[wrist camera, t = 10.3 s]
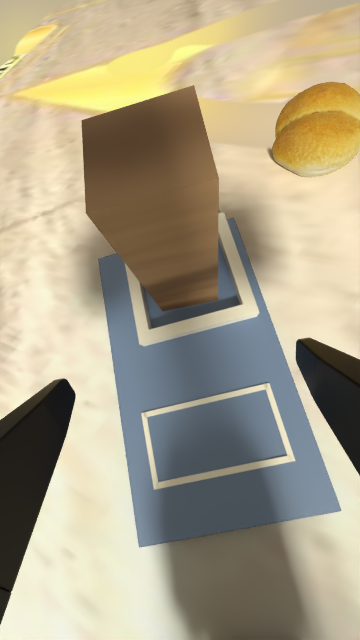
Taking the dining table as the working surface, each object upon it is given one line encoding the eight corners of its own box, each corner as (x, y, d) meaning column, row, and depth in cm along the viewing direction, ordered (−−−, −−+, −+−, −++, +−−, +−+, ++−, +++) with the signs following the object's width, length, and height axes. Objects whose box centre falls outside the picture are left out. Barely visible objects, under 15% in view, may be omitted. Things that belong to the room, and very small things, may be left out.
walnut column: (217, 300, 20) (218, 178, 8) (162, 311, 20) (85, 213, 8) (207, 251, 21) (193, 85, 9) (155, 263, 22) (81, 120, 10)
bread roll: (267, 180, 23) (276, 142, 20) (276, 116, 25) (286, 69, 22) (357, 183, 22) (386, 141, 18) (359, 113, 24) (386, 62, 20)
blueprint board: (335, 504, 16) (351, 521, 14) (142, 540, 17) (133, 560, 15) (233, 223, 22) (234, 208, 21) (102, 263, 24) (92, 252, 22)
